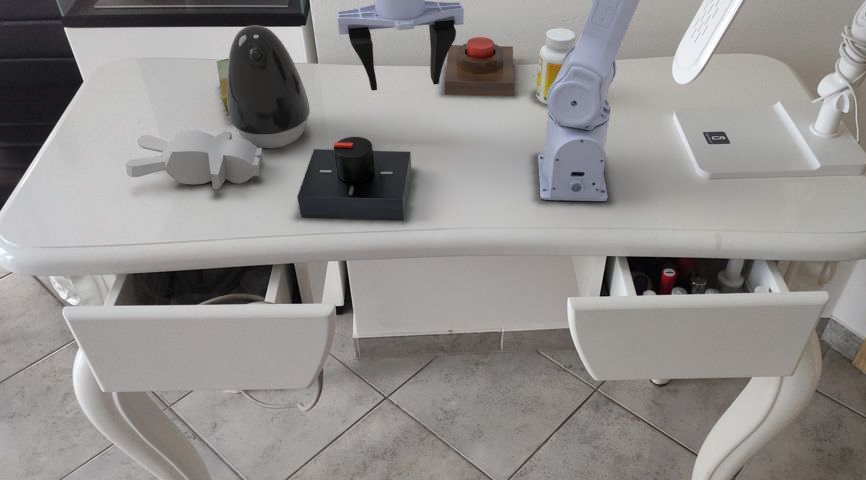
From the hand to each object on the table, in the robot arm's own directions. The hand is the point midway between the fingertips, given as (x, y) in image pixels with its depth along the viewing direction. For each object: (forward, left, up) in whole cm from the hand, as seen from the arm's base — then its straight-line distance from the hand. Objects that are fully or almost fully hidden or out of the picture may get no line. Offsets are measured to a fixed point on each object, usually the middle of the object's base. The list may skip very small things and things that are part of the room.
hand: (404, 83), depth 88 cm
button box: (+20, -9, -9) cm, 24 cm away
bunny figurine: (-8, +25, -9) cm, 28 cm away
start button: (+20, -9, -5) cm, 23 cm away
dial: (-11, +5, -6) cm, 13 cm away
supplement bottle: (+14, -20, -9) cm, 26 cm away
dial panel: (-11, +5, -9) cm, 15 cm away
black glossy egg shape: (+1, +18, -9) cm, 20 cm away
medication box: (+10, +26, -9) cm, 29 cm away
